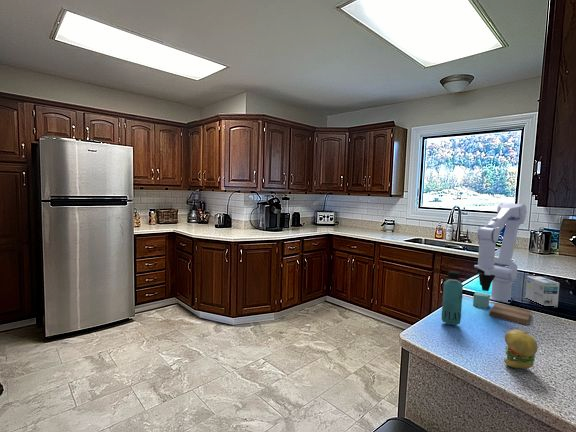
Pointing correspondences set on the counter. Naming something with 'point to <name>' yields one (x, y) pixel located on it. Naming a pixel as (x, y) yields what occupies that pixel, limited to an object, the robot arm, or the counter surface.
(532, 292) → the light bulb box
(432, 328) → the counter surface
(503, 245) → the robot arm
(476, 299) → the teal cube
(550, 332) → the counter surface
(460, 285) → the beverage bottle
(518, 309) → the walnut base
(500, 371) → the counter surface
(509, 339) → the hamburger
